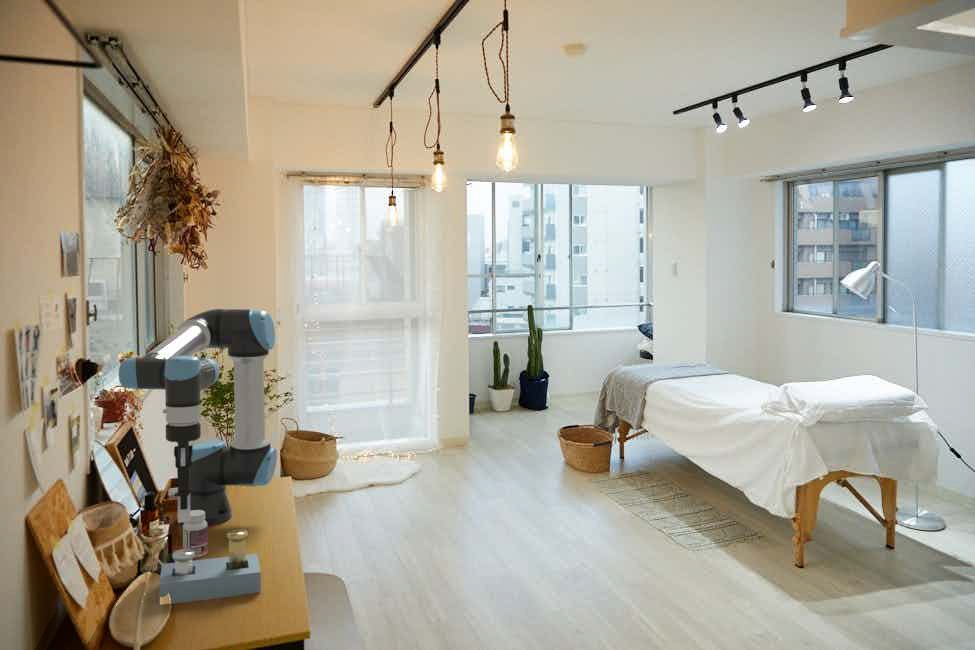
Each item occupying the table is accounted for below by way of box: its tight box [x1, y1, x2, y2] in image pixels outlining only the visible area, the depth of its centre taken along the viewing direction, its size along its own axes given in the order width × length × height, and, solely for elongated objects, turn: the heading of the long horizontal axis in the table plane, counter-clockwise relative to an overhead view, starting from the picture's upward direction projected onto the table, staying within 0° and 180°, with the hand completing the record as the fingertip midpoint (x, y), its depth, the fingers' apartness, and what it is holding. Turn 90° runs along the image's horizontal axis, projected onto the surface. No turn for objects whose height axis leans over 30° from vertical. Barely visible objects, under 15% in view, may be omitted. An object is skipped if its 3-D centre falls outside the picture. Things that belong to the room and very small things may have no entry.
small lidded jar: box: [172, 548, 195, 576], centre depth 172 cm, size 5×5×8 cm
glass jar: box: [226, 528, 249, 570], centre depth 176 cm, size 5×5×8 cm
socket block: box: [158, 553, 262, 605], centre depth 175 cm, size 12×22×5 cm, turn 111°
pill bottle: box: [182, 510, 209, 559], centre depth 195 cm, size 6×6×11 cm
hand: (184, 520), depth 172 cm, fingers closed
